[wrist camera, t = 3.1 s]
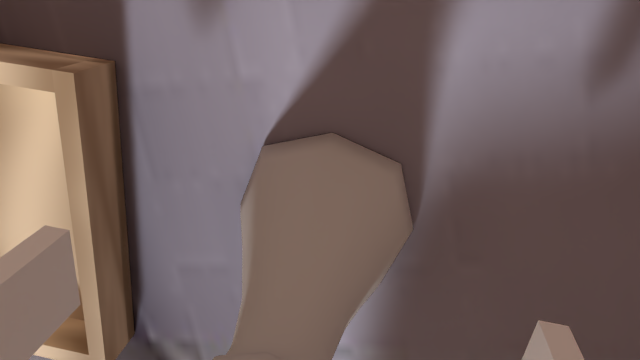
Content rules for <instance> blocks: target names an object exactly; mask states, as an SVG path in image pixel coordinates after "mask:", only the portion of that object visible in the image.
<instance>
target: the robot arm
mask: <svg viewBox="0 0 640 360" xmlns="http://www.w3.org/2000/svg"><path fill="white" fill-rule="evenodd" d="M80 305H81V304H80V298H79V291H78V284H77V277H76V271H75V264H74V257H73V250H72V244H71V237H70V230H67V229H61V228H56V227H51V226H46V225H45V226H43V227H42V228H40V229H39V230H38V231H36V232H35V233H33V234H32V235H31V236H29V237H28V238H27V239H25V240H24V241H22V242H21V243H20V244H18V245H17V246H16V247H14V248H13V249H11V250H10V251H9V252H7V253H6V254H5V255H3V256H2V257H0V360H28V359H29V358H30V357H31V356H32V355H33V354H34V353H35V352H36V351H37V350H38V349H39V348H40V347H41V346H42V345H43V344H44V342H45V341H46V340H47V339H48V338H49V337H50V336H51V335H52V334H53V333H54V332H55V331H56V330H57V329H58V328H59V327H60V326H61V325H62V323H63V322H64V321H65V320H66V319H67V318H68V317H69V316H70V315H71V314H72V313H73V312H74V311H75V310H76V309H77V308H78V307H79V306H80ZM522 360H584V358H583V355H582V353H581V351H580V349H579V347H578V345H577V343H576V341H575V338H574V336H573V334H572V332H571V330H570V328H569V326H566V325H561V324H556V323H550V322H545V321H540V320H538V322H537V324H536V327H535V329H534V332H533V334H532V336H531V339H530V341H529V343H528V346H527V348H526V351H525V353H524V355H523V358H522Z"/></svg>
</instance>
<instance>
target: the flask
mask: <svg viewBox="0 0 640 360" xmlns="http://www.w3.org/2000/svg"><path fill="white" fill-rule="evenodd" d="M412 231H413V223H412V218H411V213H410V208H409V203H408V198H407V193H406V187H405V182H404V177H403V172H402V167H401V164H400V163H398V162H396V161H393V160H391V159H389V158H387V157H385V156H383V155H380V154H378V153H376V152H374V151H372V150H369V149H367V148H365V147H363V146H361V145H359V144H356V143H354V142H352V141H350V140H348V139H345V138H343V137H341V136H339V135H337V134H334V133H328V134H323V135H318V136H313V137H307V138H302V139H297V140H292V141H286V142H281V143H276V144H271V145H266V146H263V147H262V149H261V152H260V155H259V157H258V160H257V162H256V165H255V168H254V170H253V173H252V175H251V178H250V181H249V183H248V186H247V188H246V191H245V194H244V196H243V199H242V201H241V232H242V249H243V250H242V302H241V307H240V311H239V316H238V320H237V325H236V329H235V333H234V338H233V342H232V345H231V348H230V350H229V351H228V353H227V354H226V355H219V356H216V357H214V358H213V360H332V358H333V356H334V353H335V351H336V349H337V346H338V344H339V342H340V339H341V337H342V335H343V332H344V330H345V328H346V327H347V326H348V324H349V323H350V321H351V320H352V319H353V317H354V316H355V314H356V313H357V311H358V310H359V309H360V308H361V307H362V305H363V304H364V303H365V302H366V301H367V299H368V298H369V297H370V296H371V294H372V293H373V292H374V291H375V290H376V288H377V287H378V286H379V284H380V283H381V281H382V280H383V278H384V277H385V275H386V273H387V272H388V270H389V268H390V267H391V265H392V263H393V262H394V260H395V259H396V257H397V255H398V254H399V252H400V250H401V249H402V247H403V245H404V244H405V242H406V240H407V239H408V237H409V236H410V234H411V232H412Z"/></svg>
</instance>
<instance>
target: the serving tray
mask: <svg viewBox="0 0 640 360" xmlns="http://www.w3.org/2000/svg"><path fill="white" fill-rule="evenodd" d="M45 225H46V226H51V227H56V228H61V229H67V230H70V237H71V244H72V250H73V257H74V264H75V271H76V277H77V284H78V291H79V298H80V304H81V305H80V306H79V307H78V308H77V309H76V310H75V311H74V312H73V313H72V314H71V315H70V316H69V317H68V318H67V319H66V320H65V321H64V322H63V323H62V325H61V326H60V327H59V328H58V329H57V330H56V331H55V332H54V333H53V334H52V335H51V336H50V337H49V338H48V339H47V340H46V341H45V342H44V344H43V345H42V346H41V347H40V348H39V349H38V350H37V351H36V352H35V353H34V354H33V355H37V356H41V357H46V358H50V359H55V360H115V359H116V358H117V357H118V355H119V354H120V353H121V351H122V350H123V349H124V347H125V346H126V345H127V343H128V342H129V341H130V339H131V338H132V336H133V335H134V334H135V333H134V320H133V306H132V292H131V278H130V264H129V250H128V237H127V223H126V209H125V195H124V181H123V168H122V154H121V140H120V126H119V112H118V99H117V85H116V71H115V61H111V60H104V59H98V58H91V57H85V56H78V55H72V54H66V53H59V52H53V51H46V50H40V49H33V48H27V47H20V46H14V45H8V44H1V43H0V257H2V256H3V255H5V254H6V253H7V252H9V251H10V250H11V249H13V248H14V247H16V246H17V245H18V244H20V243H21V242H22V241H24V240H25V239H27V238H28V237H29V236H31V235H32V234H33V233H35V232H36V231H38V230H39V229H40V228H42V227H43V226H45Z"/></svg>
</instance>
